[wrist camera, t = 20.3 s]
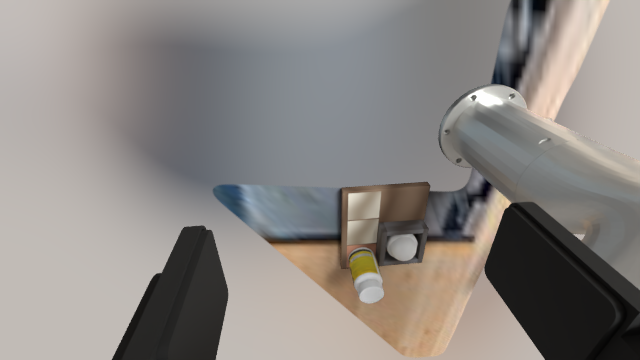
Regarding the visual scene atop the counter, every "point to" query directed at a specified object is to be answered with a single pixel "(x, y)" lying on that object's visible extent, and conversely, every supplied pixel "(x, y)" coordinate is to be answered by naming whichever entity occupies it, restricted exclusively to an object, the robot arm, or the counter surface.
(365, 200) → the game board
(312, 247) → the counter surface
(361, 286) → the supplement bottle
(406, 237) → the dome
